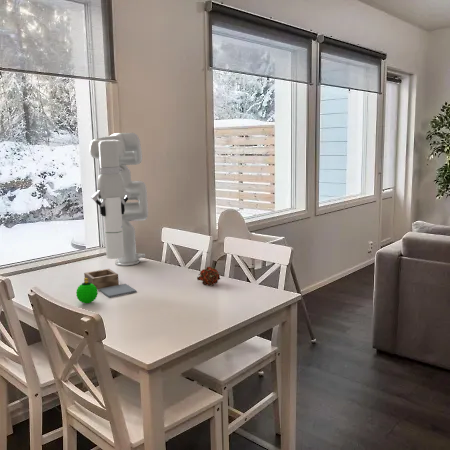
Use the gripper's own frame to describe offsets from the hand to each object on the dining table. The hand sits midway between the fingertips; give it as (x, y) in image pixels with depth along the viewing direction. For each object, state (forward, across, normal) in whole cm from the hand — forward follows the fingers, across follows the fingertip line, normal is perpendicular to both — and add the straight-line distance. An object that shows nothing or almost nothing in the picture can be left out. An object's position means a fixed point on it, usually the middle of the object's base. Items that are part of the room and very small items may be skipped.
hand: (112, 214), depth 196 cm
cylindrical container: (+18, 0, 0) cm, 18 cm away
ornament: (+33, +15, +7) cm, 37 cm away
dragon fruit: (+33, -36, +15) cm, 51 cm away
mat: (+33, 0, 0) cm, 33 cm away
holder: (+33, +2, -14) cm, 36 cm away
